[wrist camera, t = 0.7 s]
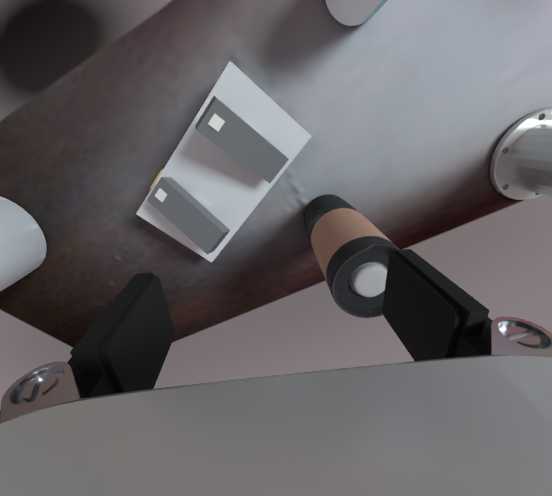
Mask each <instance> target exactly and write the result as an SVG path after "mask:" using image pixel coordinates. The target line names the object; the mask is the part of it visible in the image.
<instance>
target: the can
mask: <svg viewBox="0 0 552 496" xmlns="http://www.w3.org/2000/svg"><path fill="white" fill-rule="evenodd" d="M386 1H387V0H326V4H327V7H328V9H329V11H330V13H331V14H332V16H333V17H334V18H335V19H336V20H337V21H338V22H340V23H342V24H344V25H348V26H356V25H360V24H362V23H364V22H366V21H368V20H369V19H370V18H371V17H372V16H373V15H374V14H375V13H376V12H377V11H378V10H379V9H380V8H381V7H382V6H383V5H384V3H385V2H386Z"/></svg>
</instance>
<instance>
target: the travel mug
mask: <svg viewBox="0 0 552 496" xmlns="http://www.w3.org/2000/svg"><path fill="white" fill-rule="evenodd" d="M304 221H305V225H306V229H307V232H308V235H309V238H310V242H311V245H312V248H313V250H314V253H315V255H316V258H317V260H318V262H319V265H320V267H321V270H322V272H323V274H324V277H325V279H326V282H327V284H328V286H329V289H330V291H331V294H332V296H333V298H334V300H335V302H336V303H337V305H338V306H339V307H340V308H341V309H342V310H343V311H345V312H346V313H348V314H351V315H353V316H357V317H362V318H369V317H377V316H381V315H383V311H382V307H383V299H384V291H385V283H386V276H387V268H388V260H389V256H390V255H391V254H393V252H394V251H396V250H400V249H399V248H398V247H397V246H396V245H395V244H393V243H392V242H391V241H390V240H389V239H388V238H387V237H386V236H385V235H384V234H383V233H382V232H381V231H379V230H378V229H377V228H376V227H375V226H374V225H373V224H372V223H371V222H370V221H369V220H368V219H367V218H365V217H364V216H363V215H362V214H361V213H360V212H359V211H357V210H356V209H355V208H353V207H352V206H351V205H349V204H348V203H347V202H345V201H344V200H343V199H341V198H340V197H338V196H335V195H322V196H319V197H317V198H315V199H314V200H313V201H312V202H311V203H310V204H309V205H308V207H307V208H306V211H305V215H304Z"/></svg>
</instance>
